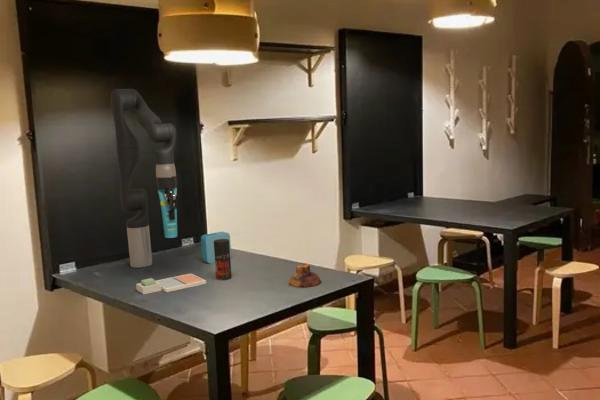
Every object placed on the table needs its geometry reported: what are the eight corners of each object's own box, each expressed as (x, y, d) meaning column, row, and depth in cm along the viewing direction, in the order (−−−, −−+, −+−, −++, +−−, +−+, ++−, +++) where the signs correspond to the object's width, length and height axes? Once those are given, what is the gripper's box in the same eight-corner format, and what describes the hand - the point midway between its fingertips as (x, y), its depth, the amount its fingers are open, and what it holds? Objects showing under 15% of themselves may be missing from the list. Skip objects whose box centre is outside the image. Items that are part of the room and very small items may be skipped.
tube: (164, 239, 246) (160, 190, 243) (160, 237, 250) (155, 189, 247) (182, 236, 250) (178, 187, 247) (177, 234, 254) (173, 187, 251)
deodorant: (213, 278, 246) (210, 241, 244) (224, 275, 251) (222, 238, 248) (223, 281, 242) (220, 242, 240) (234, 277, 247) (232, 239, 244)
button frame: (136, 290, 236) (136, 283, 236) (154, 286, 240) (154, 280, 240) (143, 294, 230) (142, 287, 230) (161, 290, 234) (161, 283, 234)
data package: (226, 257, 281) (224, 230, 279) (231, 259, 277) (229, 232, 276) (202, 262, 274) (200, 235, 272) (207, 264, 270) (205, 236, 268)
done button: (141, 286, 235) (141, 280, 235) (151, 284, 238) (151, 278, 237) (145, 288, 232) (144, 282, 232) (155, 286, 234) (155, 280, 234)
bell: (297, 290, 226) (296, 270, 225) (283, 282, 237) (282, 263, 236) (326, 284, 231) (325, 265, 230) (311, 277, 242) (310, 258, 241)
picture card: (152, 284, 243) (152, 281, 243) (191, 276, 252) (190, 273, 252) (166, 292, 232) (166, 288, 231) (206, 283, 240) (206, 280, 240)
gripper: (150, 175, 250) (154, 218, 252) (163, 177, 238) (167, 222, 241) (168, 173, 254) (171, 215, 256) (182, 175, 242) (186, 219, 245)
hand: (169, 218), depth 248 cm, fingers closed on tube, 4 cm apart
